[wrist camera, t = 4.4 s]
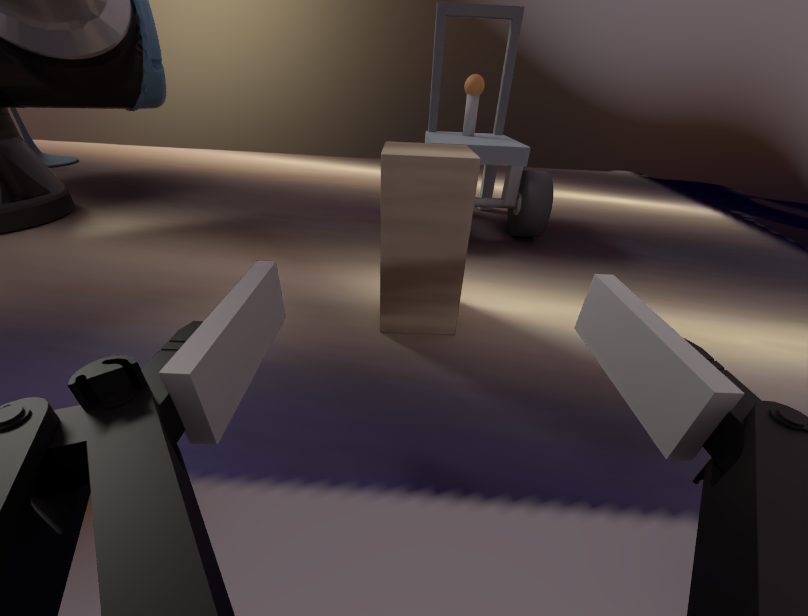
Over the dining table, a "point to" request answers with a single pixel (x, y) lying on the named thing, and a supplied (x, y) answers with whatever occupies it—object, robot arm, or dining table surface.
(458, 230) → the block
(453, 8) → the trolley
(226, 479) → the dining table surface
